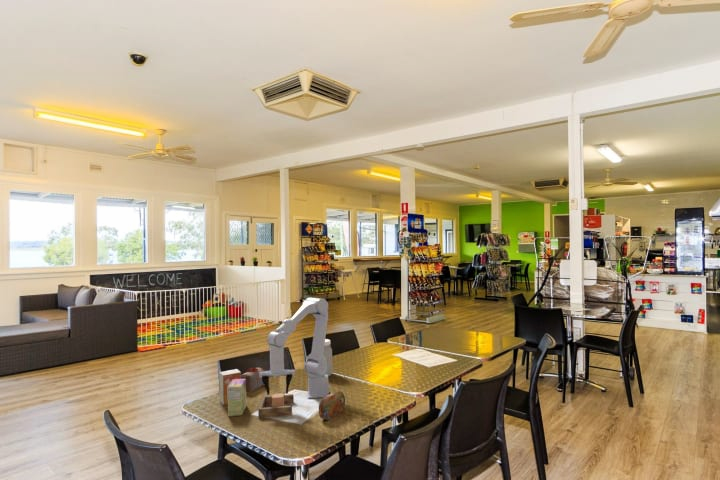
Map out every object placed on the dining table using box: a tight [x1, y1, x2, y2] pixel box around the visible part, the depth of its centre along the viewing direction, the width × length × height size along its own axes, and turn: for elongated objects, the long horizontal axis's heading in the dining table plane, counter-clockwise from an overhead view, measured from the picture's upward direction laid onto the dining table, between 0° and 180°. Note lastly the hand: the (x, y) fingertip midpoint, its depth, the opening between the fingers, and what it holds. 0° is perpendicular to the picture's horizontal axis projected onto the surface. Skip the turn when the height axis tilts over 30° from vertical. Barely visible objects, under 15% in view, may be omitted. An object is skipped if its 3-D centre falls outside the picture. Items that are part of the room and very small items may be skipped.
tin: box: [318, 390, 346, 421], centre depth 165 cm, size 15×3×8 cm, turn 148°
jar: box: [316, 338, 334, 377], centre depth 217 cm, size 10×10×18 cm
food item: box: [241, 367, 265, 394], centre depth 200 cm, size 14×8×10 cm, turn 163°
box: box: [227, 379, 247, 417], centre depth 172 cm, size 10×6×12 cm, turn 5°
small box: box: [218, 368, 242, 406], centre depth 184 cm, size 8×6×13 cm
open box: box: [257, 393, 295, 419], centre depth 172 cm, size 13×14×4 cm
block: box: [271, 392, 285, 407], centre depth 172 cm, size 4×4×6 cm
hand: (277, 393), depth 172 cm, fingers open, 7 cm apart
